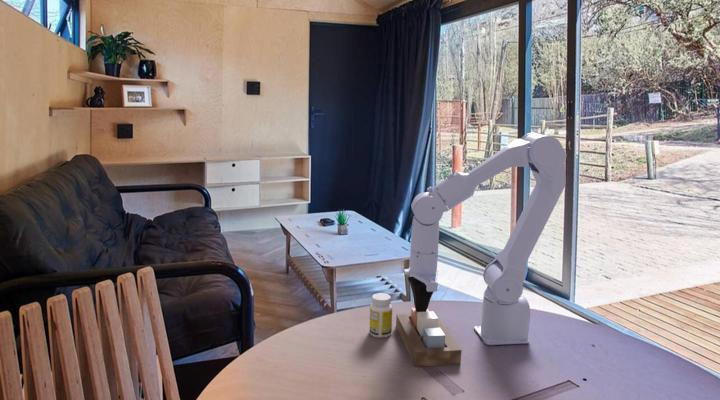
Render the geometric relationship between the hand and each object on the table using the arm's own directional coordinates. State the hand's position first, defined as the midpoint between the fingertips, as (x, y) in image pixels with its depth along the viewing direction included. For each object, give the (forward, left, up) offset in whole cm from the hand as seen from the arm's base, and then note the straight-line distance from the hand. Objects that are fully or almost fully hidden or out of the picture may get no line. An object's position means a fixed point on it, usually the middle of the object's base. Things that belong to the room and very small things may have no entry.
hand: (420, 310), depth 111 cm
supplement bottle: (+8, -1, -5) cm, 10 cm away
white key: (0, +5, -2) cm, 6 cm away
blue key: (0, +10, -4) cm, 11 cm away
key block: (0, +5, -5) cm, 7 cm away
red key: (0, 0, -4) cm, 4 cm away
